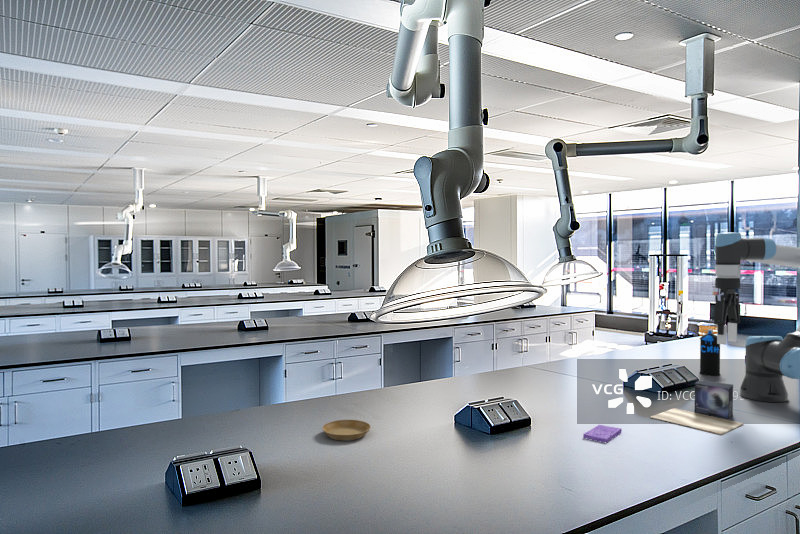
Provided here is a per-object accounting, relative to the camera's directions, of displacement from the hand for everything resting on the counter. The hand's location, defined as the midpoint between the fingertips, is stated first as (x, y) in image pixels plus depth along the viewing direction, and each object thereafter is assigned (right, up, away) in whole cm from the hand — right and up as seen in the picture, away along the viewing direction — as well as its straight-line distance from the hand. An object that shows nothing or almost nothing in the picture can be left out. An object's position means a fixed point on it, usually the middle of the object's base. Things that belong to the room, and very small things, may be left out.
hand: (727, 342), depth 193 cm
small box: (-8, -24, -5) cm, 26 cm away
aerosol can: (+24, -22, +55) cm, 64 cm away
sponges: (-53, -25, -26) cm, 64 cm away
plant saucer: (-130, -25, -23) cm, 134 cm away
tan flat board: (-18, -24, -13) cm, 32 cm away
